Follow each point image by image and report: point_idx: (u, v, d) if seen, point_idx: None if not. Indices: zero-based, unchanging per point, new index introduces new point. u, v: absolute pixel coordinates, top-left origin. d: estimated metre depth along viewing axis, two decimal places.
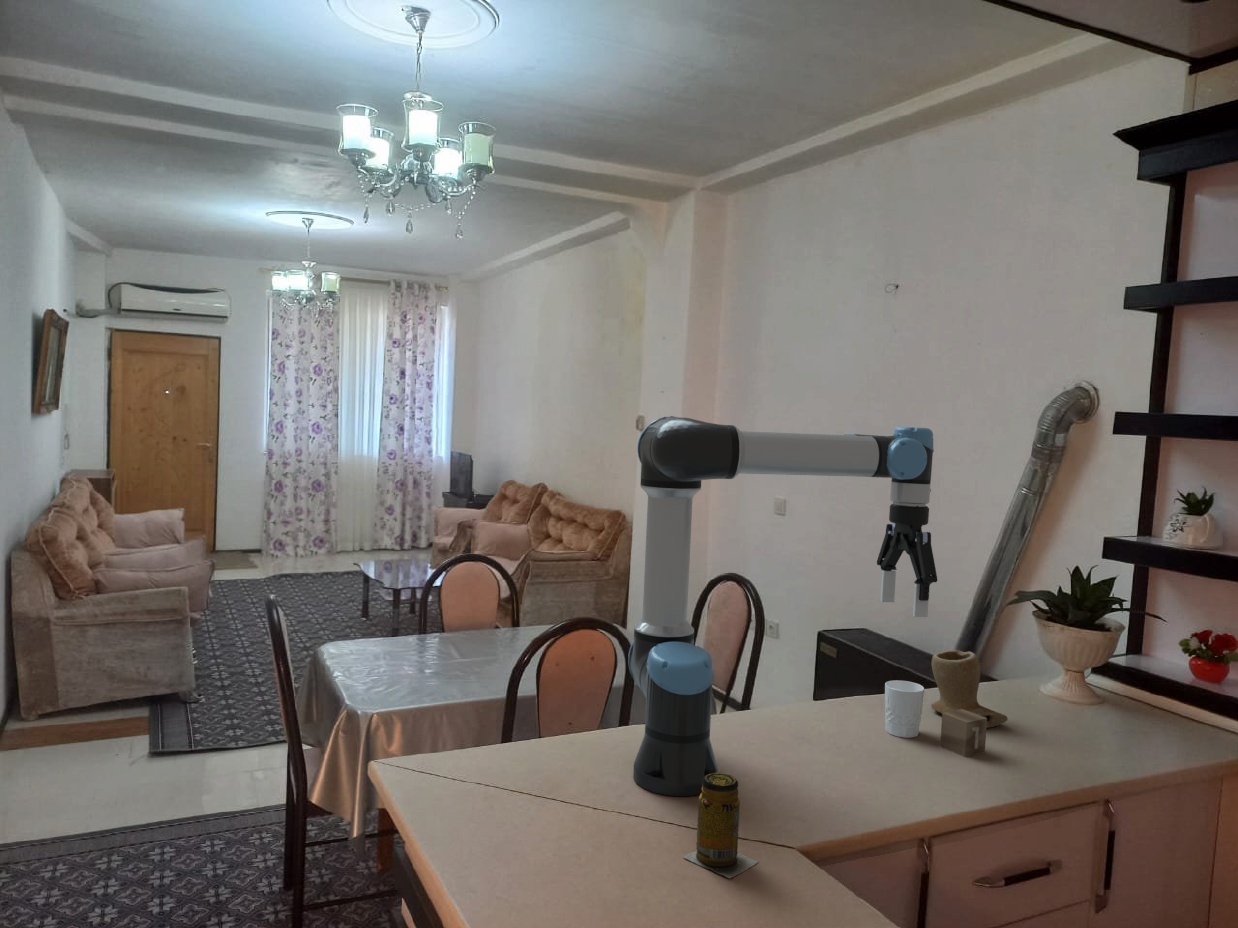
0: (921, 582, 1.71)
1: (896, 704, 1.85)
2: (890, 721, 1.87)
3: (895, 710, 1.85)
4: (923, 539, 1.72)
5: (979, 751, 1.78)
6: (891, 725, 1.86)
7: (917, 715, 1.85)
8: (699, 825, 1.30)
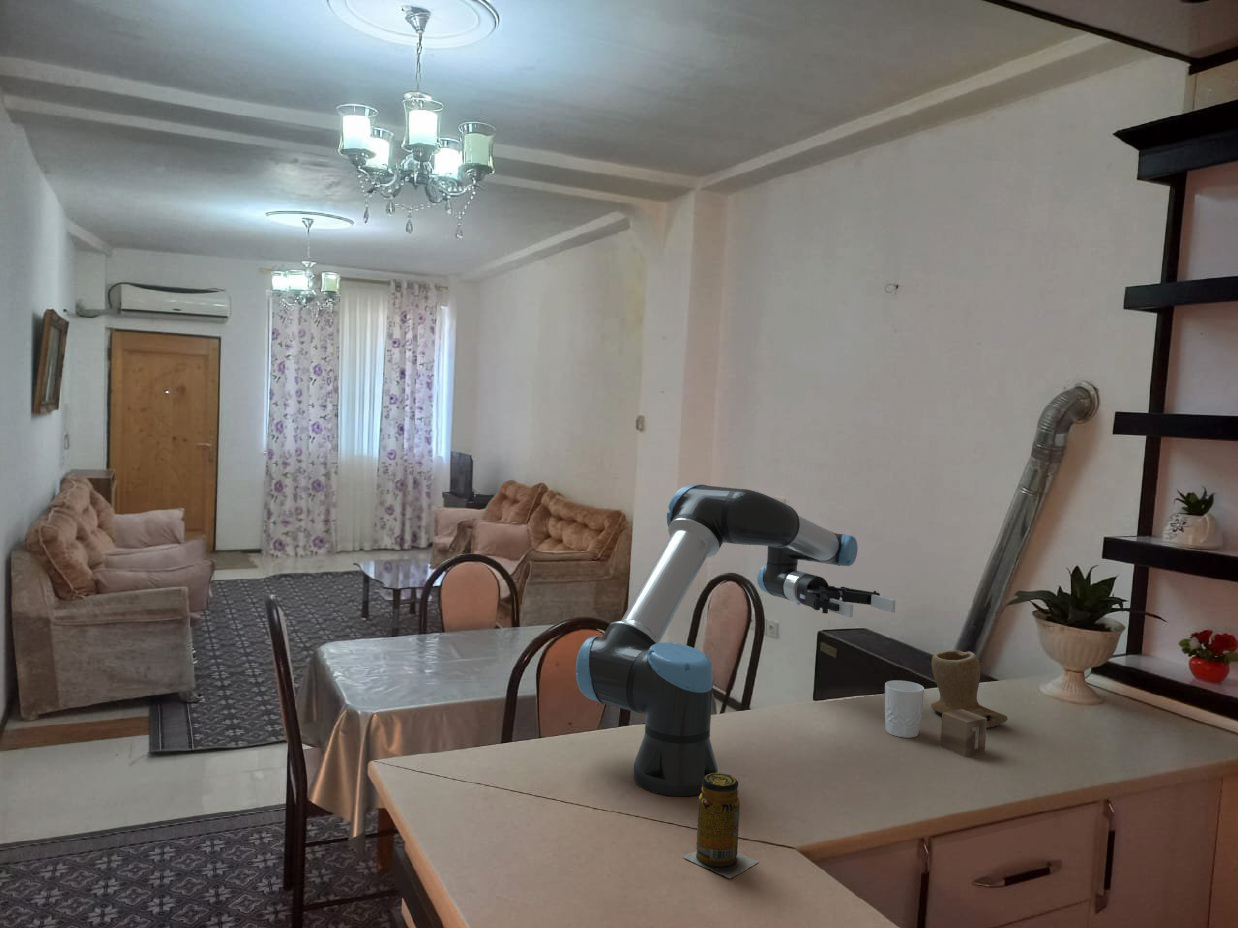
0: None
1: (896, 704, 1.85)
2: (890, 721, 1.87)
3: (895, 710, 1.85)
4: None
5: (979, 751, 1.78)
6: (891, 725, 1.86)
7: (917, 715, 1.85)
8: (699, 825, 1.30)
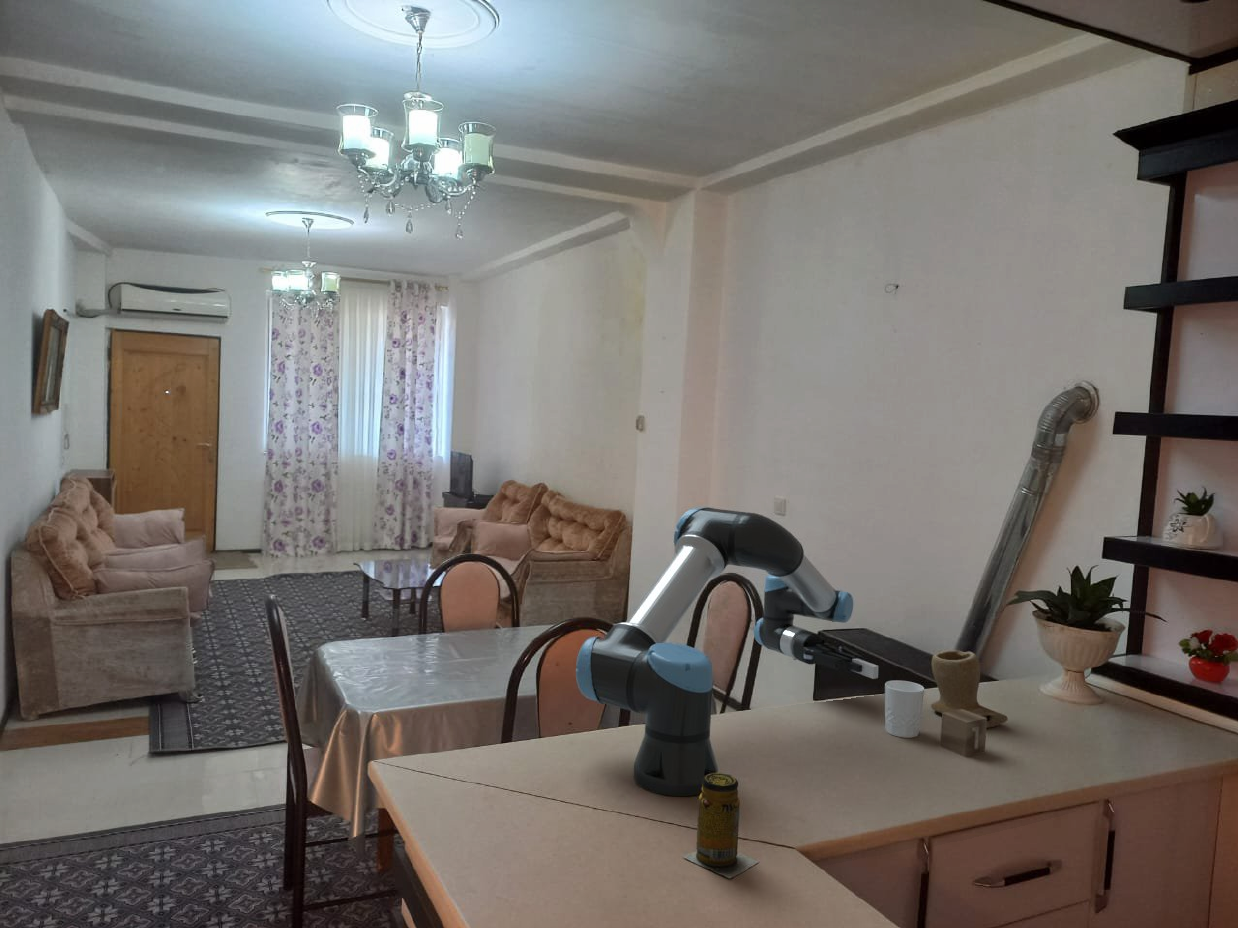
0: (858, 659, 2.02)
1: (896, 704, 1.85)
2: (890, 721, 1.87)
3: (895, 710, 1.85)
4: None
5: (979, 751, 1.78)
6: (891, 725, 1.86)
7: (917, 715, 1.85)
8: (699, 825, 1.30)
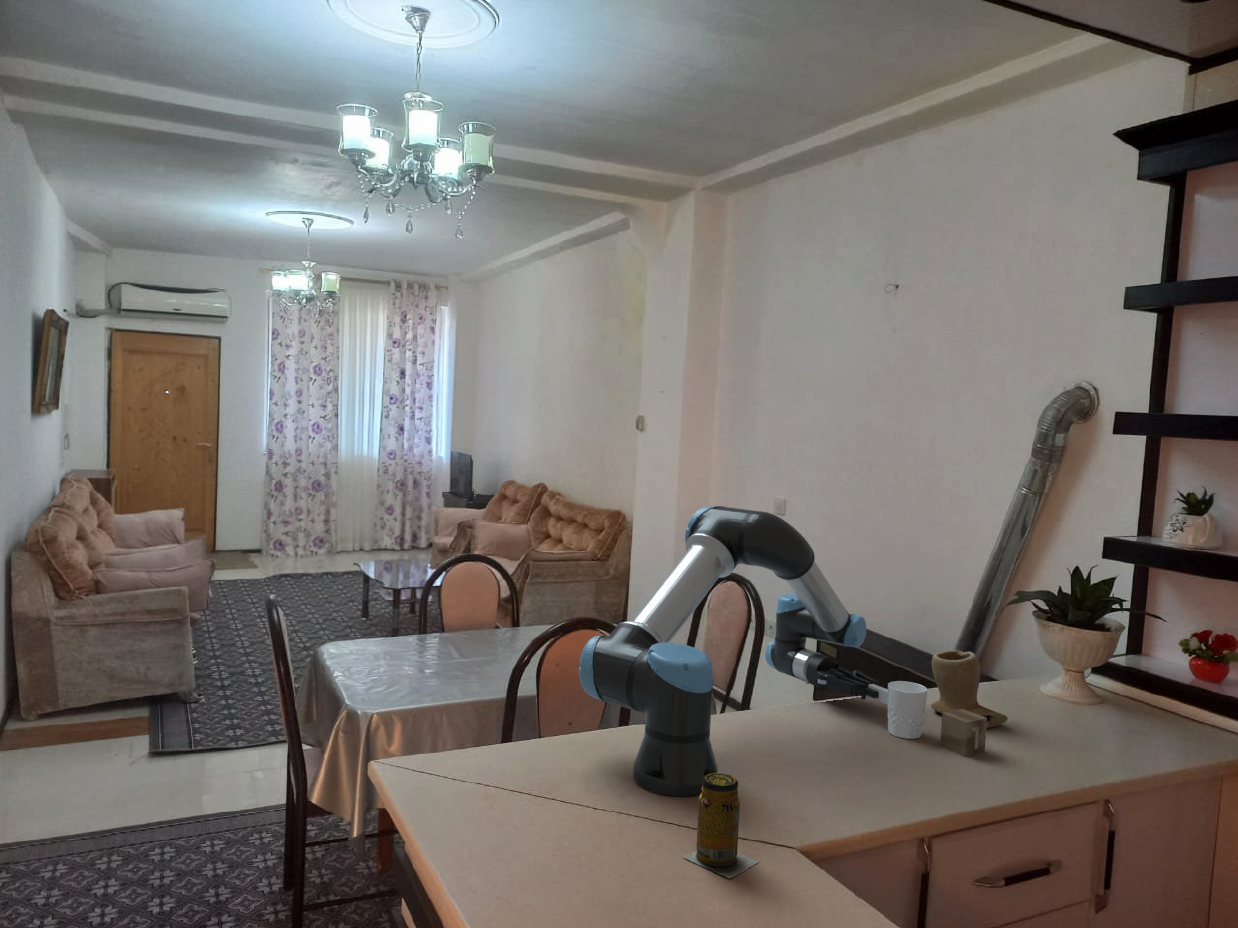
0: (874, 684, 1.97)
1: (899, 705, 1.84)
2: (893, 722, 1.86)
3: (898, 711, 1.85)
4: None
5: (979, 751, 1.78)
6: (893, 726, 1.86)
7: (920, 716, 1.84)
8: (699, 825, 1.30)
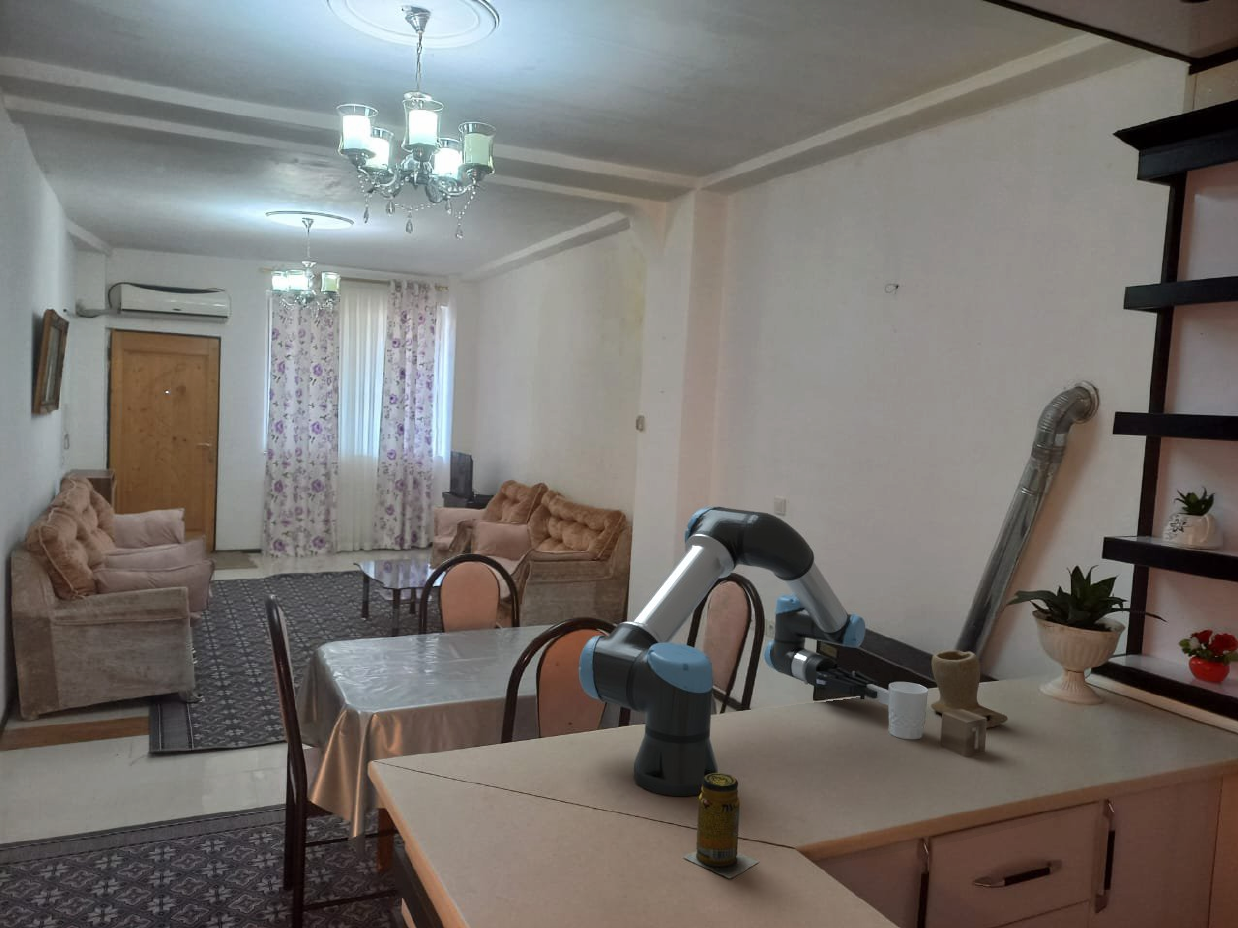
0: (873, 685, 1.98)
1: (900, 705, 1.84)
2: (893, 723, 1.86)
3: (898, 712, 1.84)
4: None
5: (979, 751, 1.78)
6: (894, 726, 1.85)
7: (921, 717, 1.84)
8: (699, 825, 1.30)
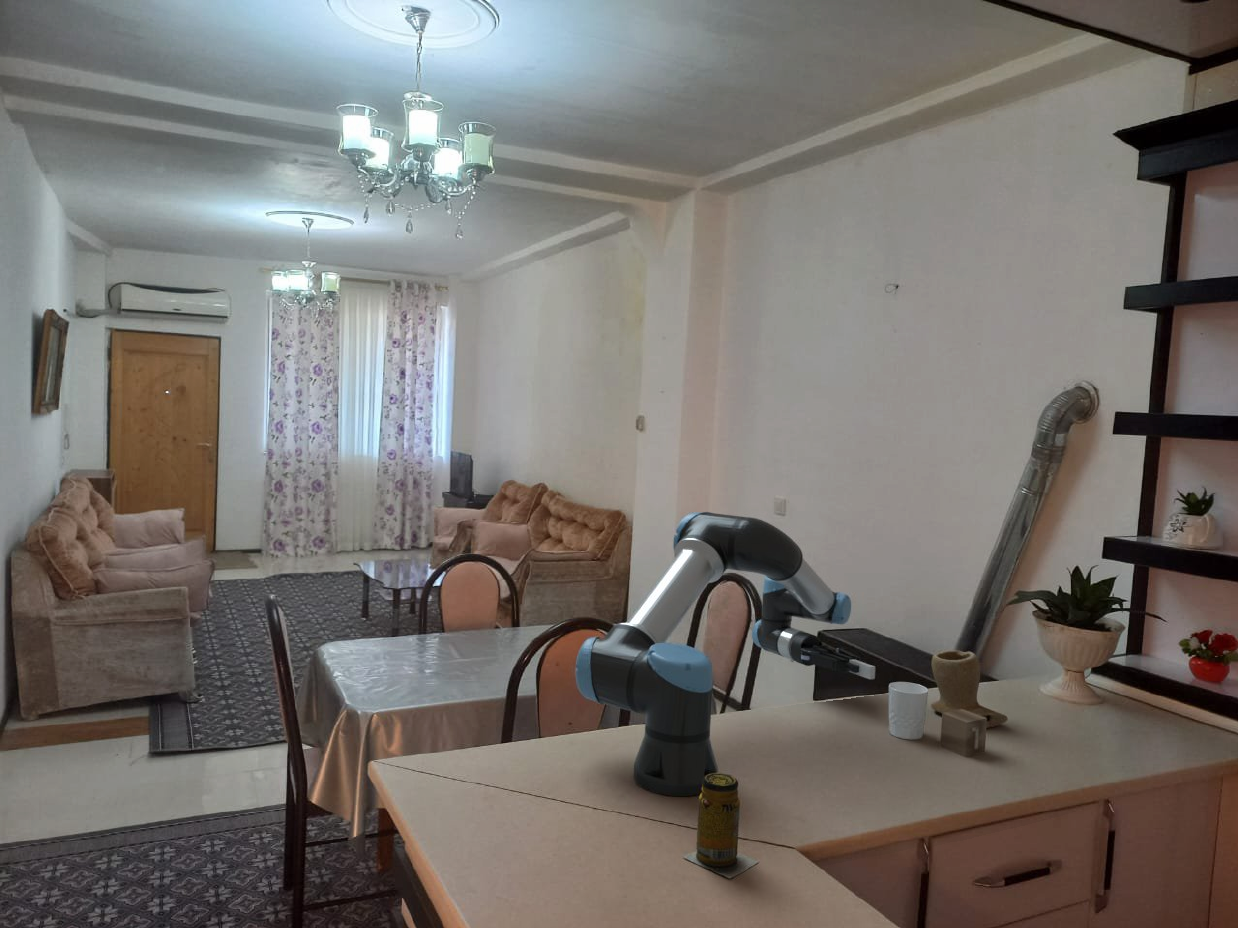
0: (855, 660, 2.03)
1: (900, 705, 1.84)
2: (894, 723, 1.86)
3: (899, 712, 1.84)
4: None
5: (979, 751, 1.78)
6: (894, 726, 1.85)
7: (921, 717, 1.84)
8: (699, 825, 1.30)
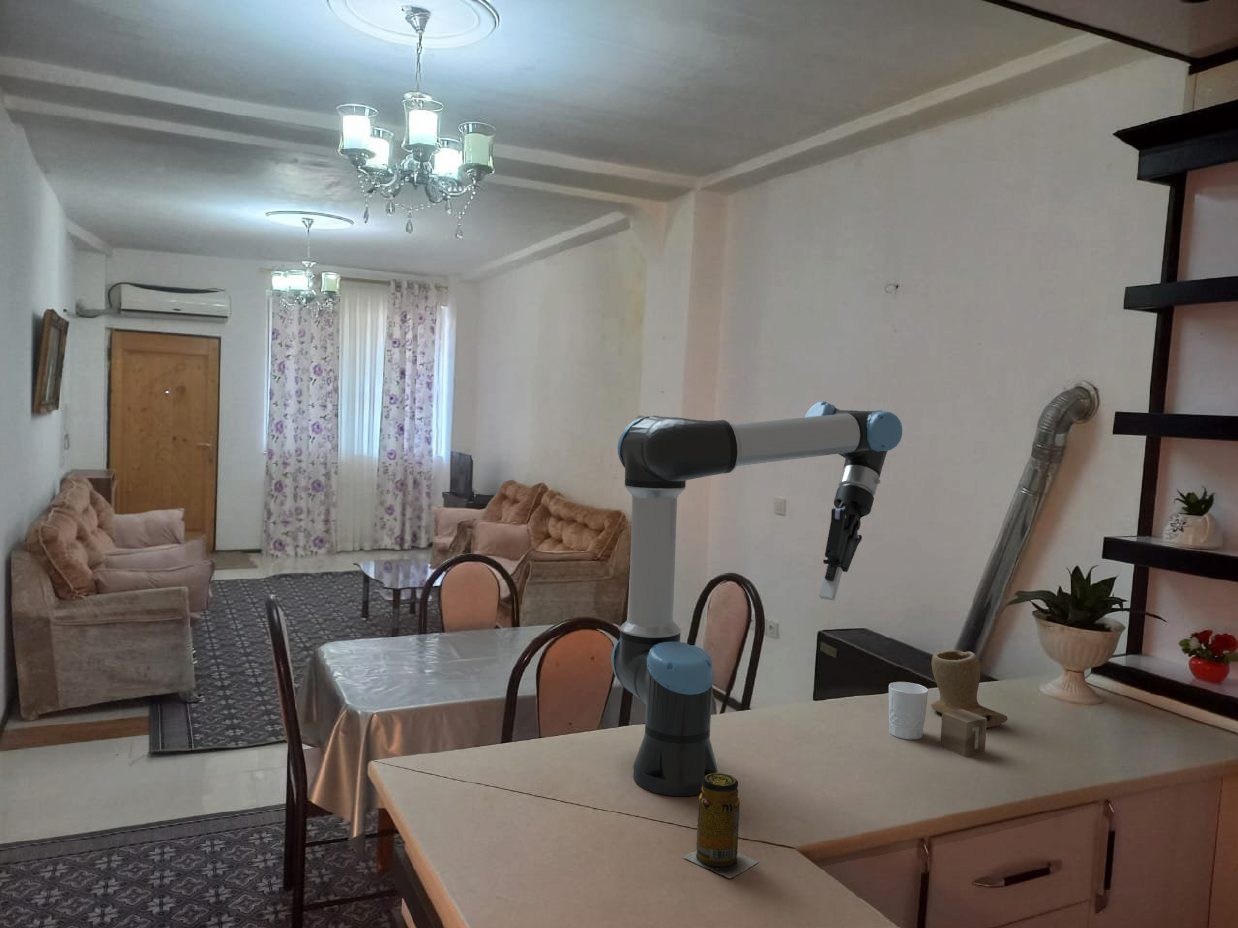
0: (828, 563, 1.75)
1: (900, 705, 1.84)
2: (894, 723, 1.86)
3: (899, 712, 1.84)
4: (835, 516, 1.75)
5: (979, 751, 1.78)
6: (894, 726, 1.85)
7: (921, 717, 1.84)
8: (699, 825, 1.30)
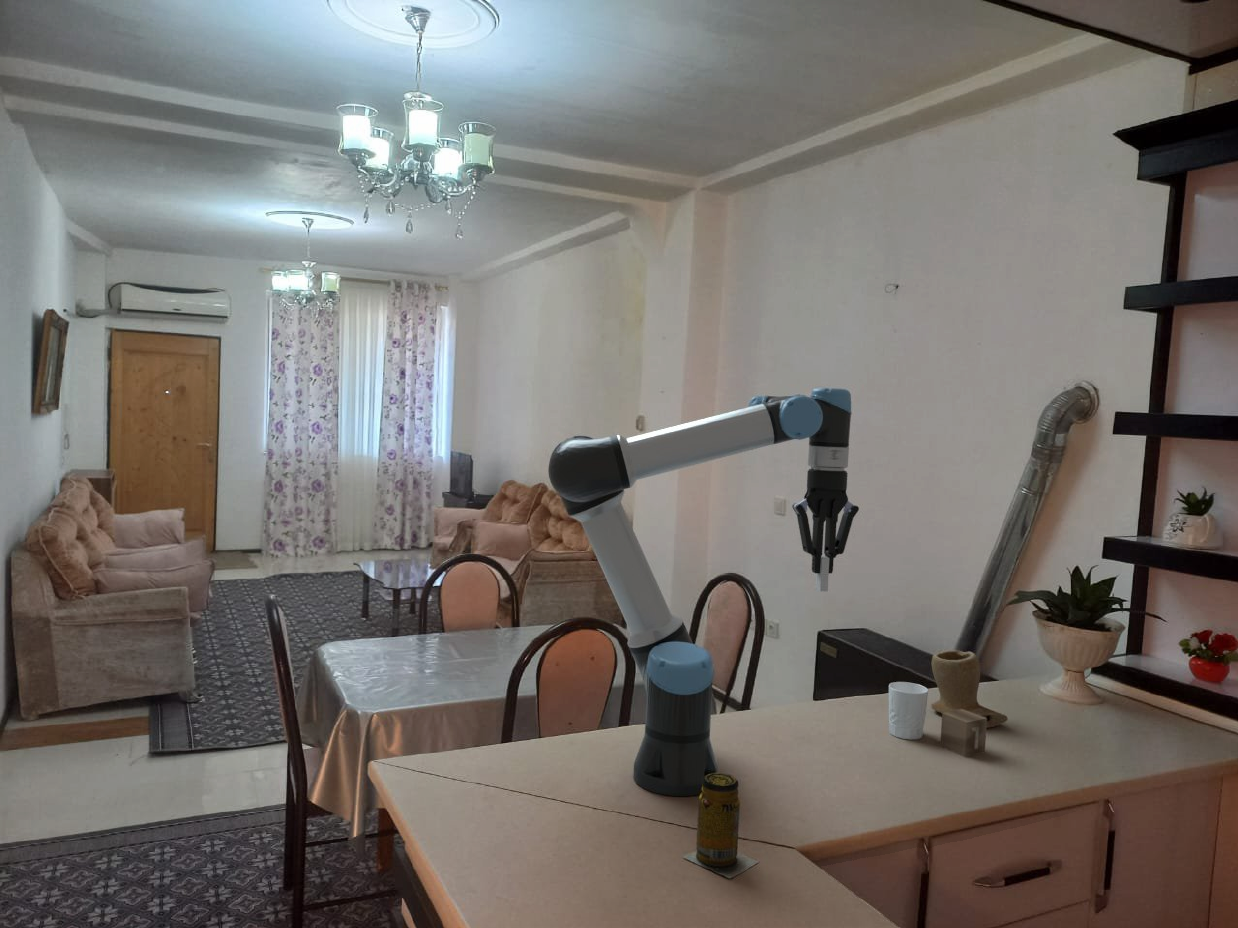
0: None
1: (900, 705, 1.84)
2: (894, 723, 1.86)
3: (899, 712, 1.84)
4: (796, 512, 1.71)
5: (979, 751, 1.78)
6: (894, 726, 1.85)
7: (921, 717, 1.84)
8: (699, 825, 1.30)
